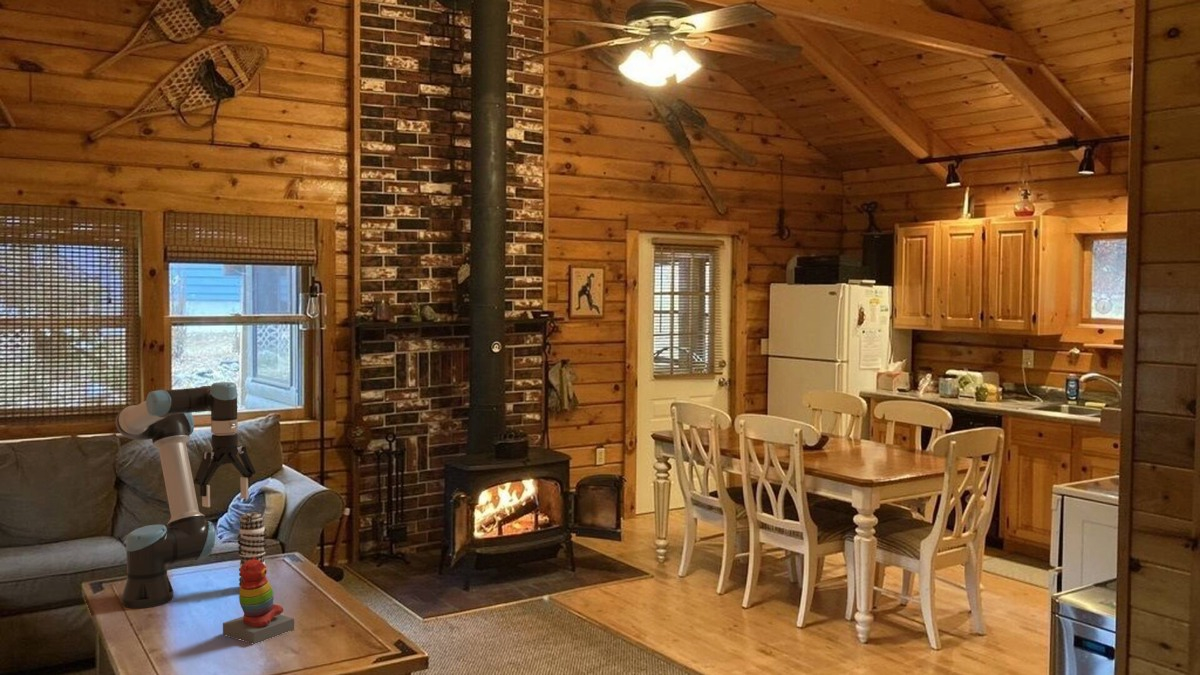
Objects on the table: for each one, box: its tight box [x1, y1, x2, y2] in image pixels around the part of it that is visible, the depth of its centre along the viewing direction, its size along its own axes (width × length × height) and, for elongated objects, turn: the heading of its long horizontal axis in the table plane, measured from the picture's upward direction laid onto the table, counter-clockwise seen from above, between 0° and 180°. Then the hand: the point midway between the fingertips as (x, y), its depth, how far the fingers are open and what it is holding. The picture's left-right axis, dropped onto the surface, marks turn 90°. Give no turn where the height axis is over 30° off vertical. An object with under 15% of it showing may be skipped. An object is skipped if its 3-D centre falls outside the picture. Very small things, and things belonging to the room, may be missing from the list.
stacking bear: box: [238, 557, 284, 627], centre depth 284 cm, size 11×10×18 cm
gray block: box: [222, 614, 295, 645], centre depth 286 cm, size 14×14×4 cm
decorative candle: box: [237, 511, 267, 587], centre depth 327 cm, size 9×9×25 cm
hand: (225, 502), depth 300 cm, fingers open, 13 cm apart
